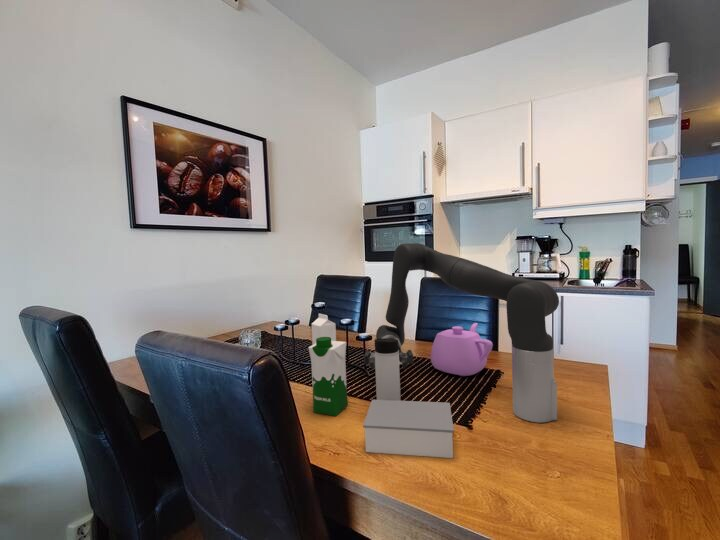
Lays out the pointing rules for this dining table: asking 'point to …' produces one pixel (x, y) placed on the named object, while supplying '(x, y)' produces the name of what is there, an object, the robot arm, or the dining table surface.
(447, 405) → the box with lid
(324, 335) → the milk
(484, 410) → the dining table surface
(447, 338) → the teapot
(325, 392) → the milk carton
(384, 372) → the travel mug
